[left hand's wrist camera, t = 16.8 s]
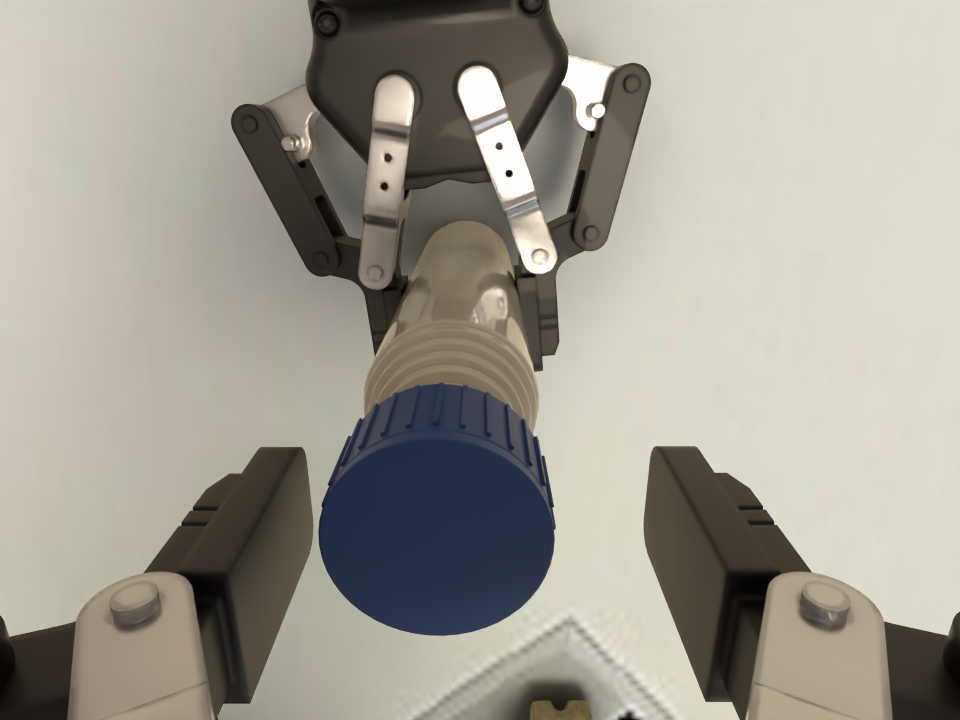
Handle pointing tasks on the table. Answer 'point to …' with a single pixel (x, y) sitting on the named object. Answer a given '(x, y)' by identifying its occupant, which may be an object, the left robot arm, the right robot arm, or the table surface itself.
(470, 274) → the bottle
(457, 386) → the cap
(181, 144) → the table surface
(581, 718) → the sculpture
